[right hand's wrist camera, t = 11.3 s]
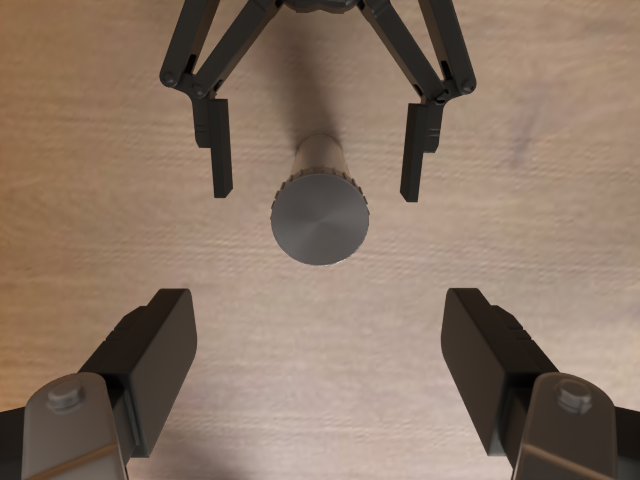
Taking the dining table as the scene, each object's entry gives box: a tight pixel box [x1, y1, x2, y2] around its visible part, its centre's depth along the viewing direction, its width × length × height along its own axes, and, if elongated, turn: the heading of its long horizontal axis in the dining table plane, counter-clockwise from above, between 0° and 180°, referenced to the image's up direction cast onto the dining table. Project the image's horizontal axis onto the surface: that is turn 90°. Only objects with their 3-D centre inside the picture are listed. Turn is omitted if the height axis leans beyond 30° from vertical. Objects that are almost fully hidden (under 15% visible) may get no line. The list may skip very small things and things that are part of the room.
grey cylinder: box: [289, 134, 351, 178], centre depth 27 cm, size 4×4×17 cm
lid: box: [270, 165, 370, 266], centre depth 20 cm, size 5×5×2 cm
